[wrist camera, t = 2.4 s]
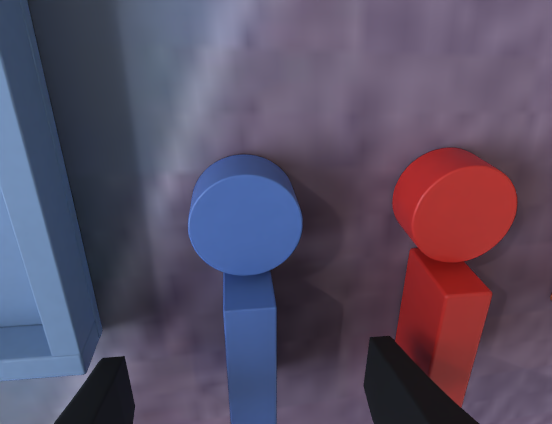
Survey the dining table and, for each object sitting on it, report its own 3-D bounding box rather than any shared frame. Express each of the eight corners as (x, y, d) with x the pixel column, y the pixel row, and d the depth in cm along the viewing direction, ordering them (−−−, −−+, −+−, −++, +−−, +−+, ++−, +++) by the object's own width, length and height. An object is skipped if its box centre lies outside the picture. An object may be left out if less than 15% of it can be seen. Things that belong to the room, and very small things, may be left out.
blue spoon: (290, 369, 16) (302, 433, 13) (208, 376, 15) (205, 442, 13) (295, 152, 12) (312, 188, 10) (187, 155, 12) (178, 193, 9)
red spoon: (446, 356, 16) (483, 415, 14) (369, 363, 16) (394, 424, 14) (496, 145, 13) (557, 177, 10) (398, 148, 12) (438, 182, 10)
